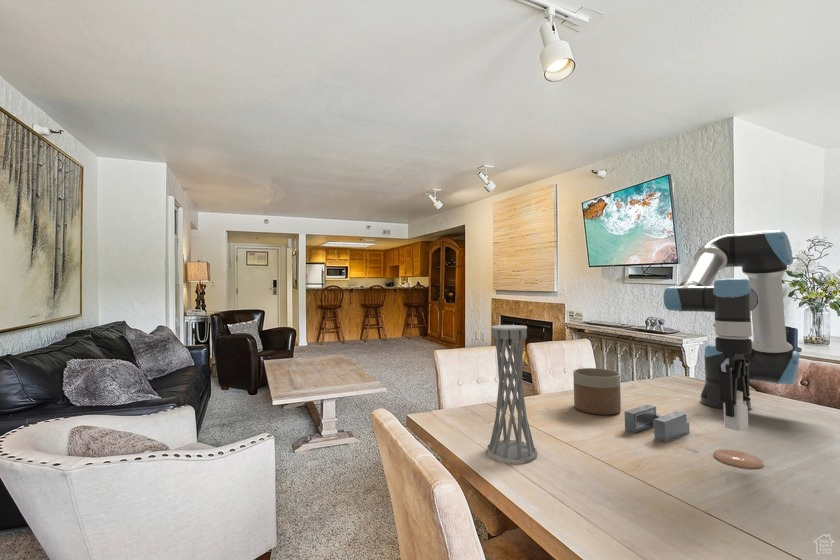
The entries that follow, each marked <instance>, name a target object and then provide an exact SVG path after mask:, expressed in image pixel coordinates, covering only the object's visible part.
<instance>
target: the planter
mask: <svg viewBox="0 0 840 560" xmlns="http://www.w3.org/2000/svg"><path fill="white" fill-rule="evenodd" d="M572 371H573V374H572V375H573V405H574V408H575V409H577V410H579V411H580V412H583V413H587V414H590V415H597V416H611V415H616V414H618V413H620V412H621V411H622V401H621V400H622V399H621V374H620V372H617V371H616V370H613V369H607V368H606V369H605V368H597V367H595V368H594V367H584V368H582V367H581V368H577V369H574V370H572Z"/></svg>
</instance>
